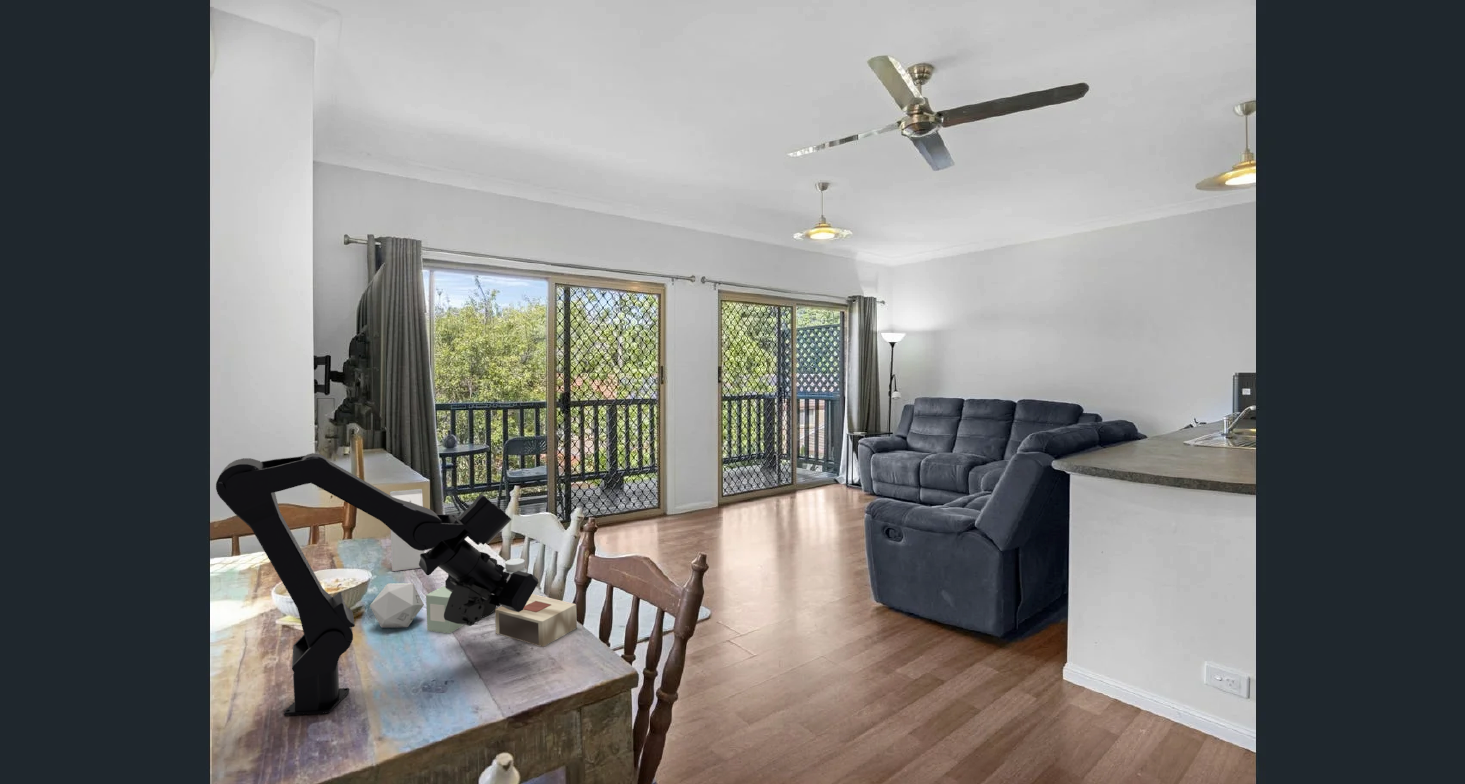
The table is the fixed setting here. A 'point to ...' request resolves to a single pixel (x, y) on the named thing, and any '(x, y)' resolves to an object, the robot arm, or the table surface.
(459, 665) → the table surface
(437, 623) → the sage block
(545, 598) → the birch block
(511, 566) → the pill bottle
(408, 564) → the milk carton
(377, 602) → the die
